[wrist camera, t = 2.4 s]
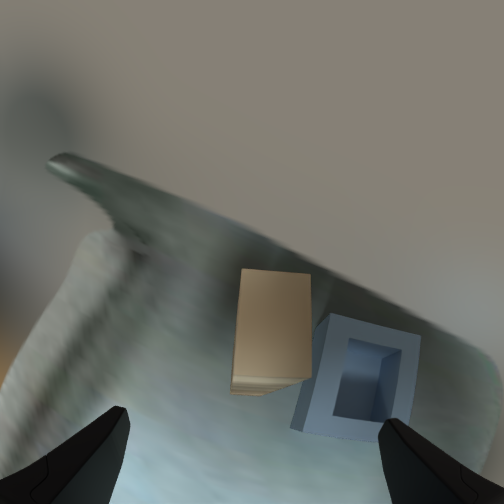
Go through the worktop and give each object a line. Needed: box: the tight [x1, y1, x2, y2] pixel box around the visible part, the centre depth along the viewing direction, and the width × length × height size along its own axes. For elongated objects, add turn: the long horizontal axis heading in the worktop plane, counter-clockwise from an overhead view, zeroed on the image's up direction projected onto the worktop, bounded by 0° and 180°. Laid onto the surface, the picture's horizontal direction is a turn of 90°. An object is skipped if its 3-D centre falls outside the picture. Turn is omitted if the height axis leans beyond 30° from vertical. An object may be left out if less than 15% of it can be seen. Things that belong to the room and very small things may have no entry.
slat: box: [230, 269, 312, 396], centre depth 13 cm, size 3×2×13 cm, turn 177°
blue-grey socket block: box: [290, 313, 421, 442], centre depth 17 cm, size 8×7×4 cm
